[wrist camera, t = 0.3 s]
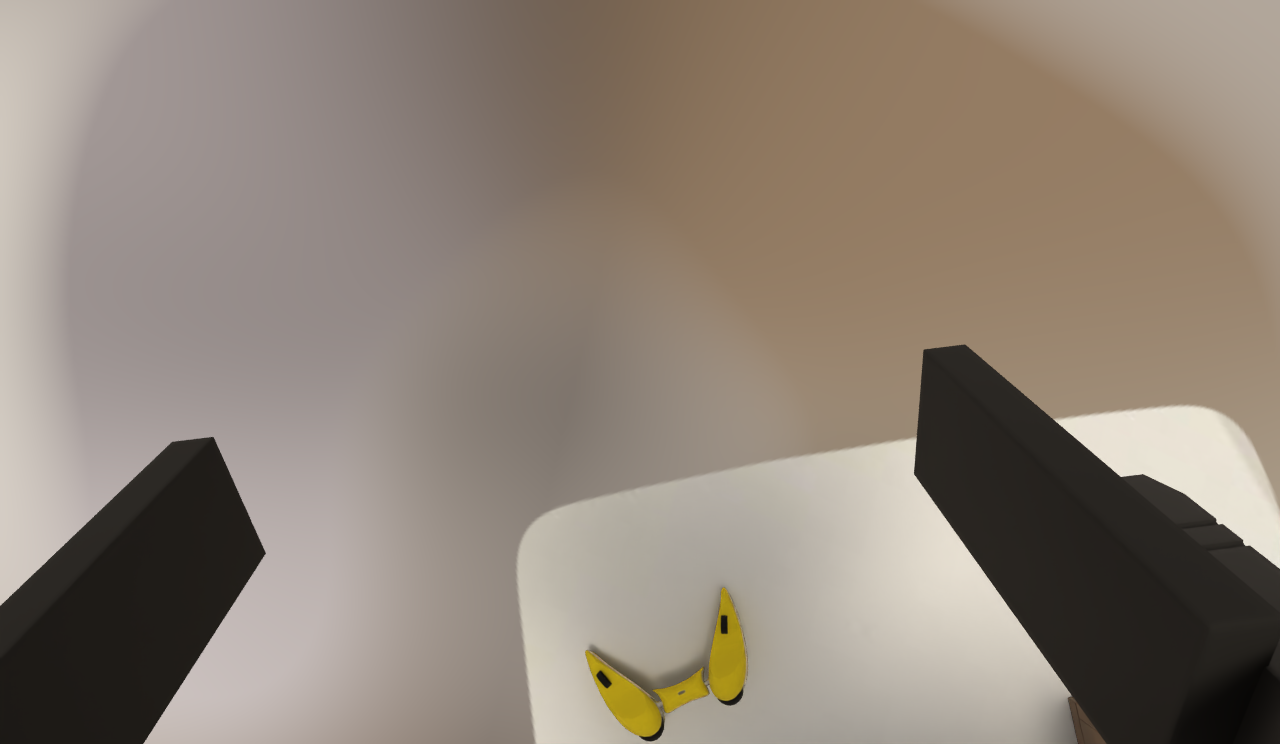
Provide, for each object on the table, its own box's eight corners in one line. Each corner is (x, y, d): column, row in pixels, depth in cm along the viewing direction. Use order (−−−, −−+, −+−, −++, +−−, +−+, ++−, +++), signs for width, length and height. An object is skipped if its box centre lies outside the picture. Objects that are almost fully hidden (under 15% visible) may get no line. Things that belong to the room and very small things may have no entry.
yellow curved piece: (629, 754, 43) (614, 757, 40) (595, 654, 47) (579, 649, 44) (773, 689, 43) (768, 687, 40) (729, 592, 46) (723, 583, 43)
